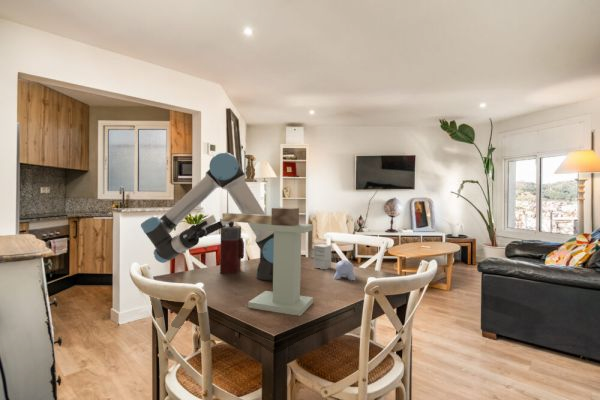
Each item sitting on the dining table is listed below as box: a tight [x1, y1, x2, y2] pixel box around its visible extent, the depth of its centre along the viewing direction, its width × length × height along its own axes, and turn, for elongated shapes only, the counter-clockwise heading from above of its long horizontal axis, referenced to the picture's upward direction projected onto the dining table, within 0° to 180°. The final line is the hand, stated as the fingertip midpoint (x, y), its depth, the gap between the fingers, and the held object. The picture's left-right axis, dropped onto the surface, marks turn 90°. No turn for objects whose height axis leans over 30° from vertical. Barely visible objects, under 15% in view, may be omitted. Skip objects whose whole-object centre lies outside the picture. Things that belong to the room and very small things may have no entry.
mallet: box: [221, 206, 300, 226], centre depth 119 cm, size 30×7×6 cm, turn 70°
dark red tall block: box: [219, 222, 245, 275], centre depth 163 cm, size 9×11×28 cm
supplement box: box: [313, 243, 332, 270], centre depth 176 cm, size 7×7×13 cm
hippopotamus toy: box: [332, 259, 356, 281], centre depth 157 cm, size 11×15×10 cm
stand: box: [247, 223, 314, 317], centre depth 116 cm, size 20×14×30 cm
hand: (224, 217), depth 124 cm, fingers open, 13 cm apart
